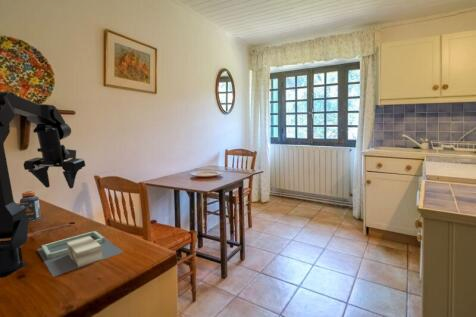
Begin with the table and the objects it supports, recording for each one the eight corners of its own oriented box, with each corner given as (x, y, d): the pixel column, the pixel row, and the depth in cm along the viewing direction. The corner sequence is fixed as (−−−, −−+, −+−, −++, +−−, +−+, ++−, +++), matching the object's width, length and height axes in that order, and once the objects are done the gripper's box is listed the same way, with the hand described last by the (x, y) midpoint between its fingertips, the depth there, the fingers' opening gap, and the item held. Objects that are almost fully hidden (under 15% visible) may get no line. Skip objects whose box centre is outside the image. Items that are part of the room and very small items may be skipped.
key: (26, 240, 87) (78, 227, 97) (25, 238, 87) (78, 225, 97) (24, 234, 91) (75, 222, 101) (24, 232, 91) (74, 220, 101)
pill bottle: (18, 222, 104) (14, 194, 102) (28, 217, 110) (25, 190, 108) (35, 221, 104) (31, 193, 103) (44, 216, 110) (40, 189, 109)
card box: (102, 258, 69) (101, 245, 68) (78, 267, 65) (76, 253, 65) (90, 247, 76) (89, 235, 76) (68, 254, 72) (66, 242, 72)
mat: (124, 253, 72) (124, 252, 72) (53, 278, 61) (53, 276, 61) (97, 233, 88) (97, 232, 88) (37, 250, 77) (36, 249, 77)
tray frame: (105, 241, 80) (105, 238, 80) (48, 259, 70) (47, 255, 70) (95, 234, 86) (95, 230, 86) (41, 249, 76) (41, 245, 76)
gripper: (92, 139, 95) (99, 180, 100) (45, 138, 98) (54, 178, 102) (68, 146, 85) (77, 192, 89) (17, 145, 87) (28, 190, 92)
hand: (59, 187), depth 93 cm, fingers open, 9 cm apart
